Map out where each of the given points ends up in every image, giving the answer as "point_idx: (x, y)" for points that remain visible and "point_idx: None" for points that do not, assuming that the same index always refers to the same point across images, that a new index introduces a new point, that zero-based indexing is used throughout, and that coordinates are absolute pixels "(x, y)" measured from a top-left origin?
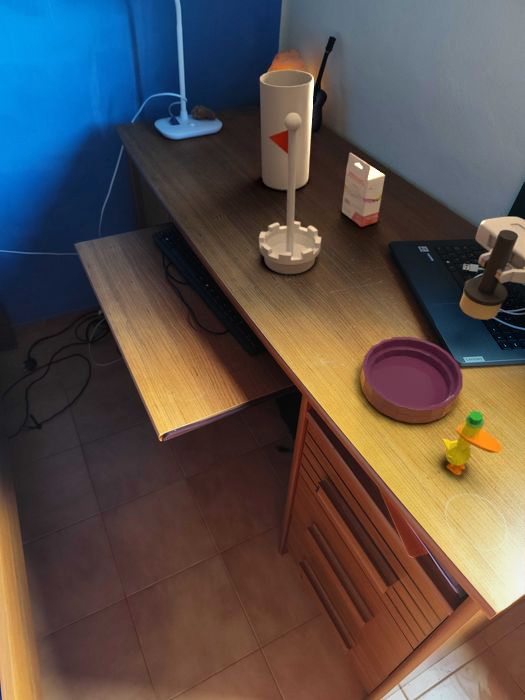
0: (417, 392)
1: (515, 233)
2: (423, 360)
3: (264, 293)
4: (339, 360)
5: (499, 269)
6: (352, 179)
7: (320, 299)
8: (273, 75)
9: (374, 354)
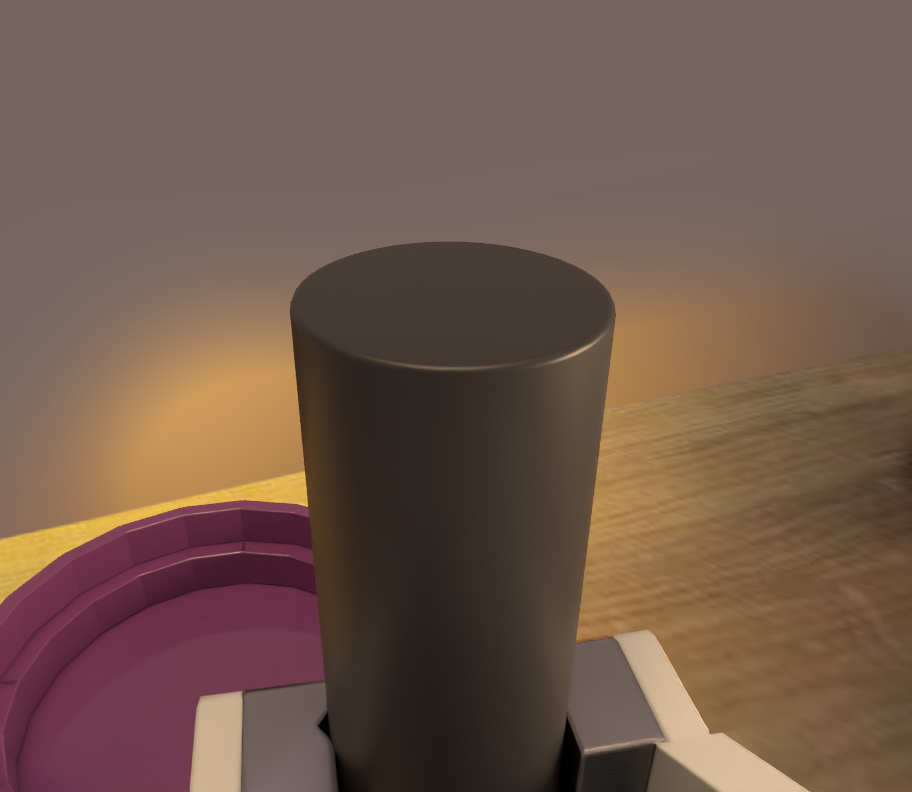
0: (154, 733)
1: (463, 352)
2: None
3: (784, 427)
4: None
5: (313, 685)
6: None
7: (788, 552)
8: None
9: None
